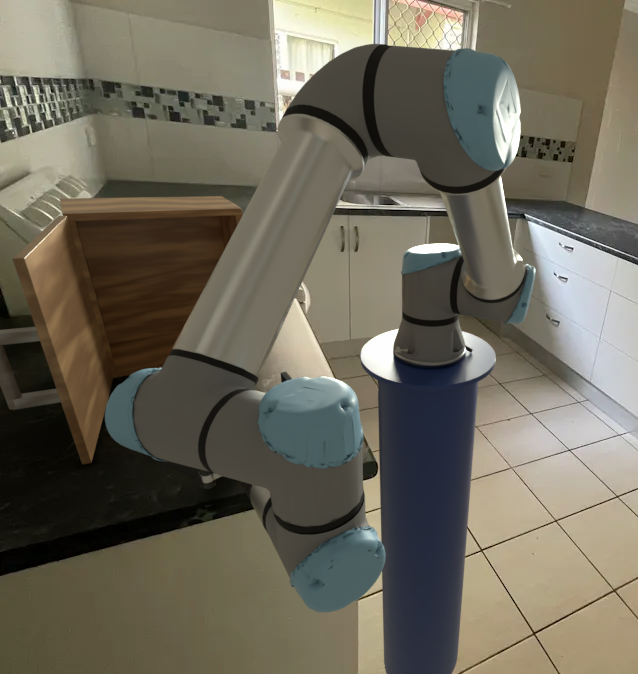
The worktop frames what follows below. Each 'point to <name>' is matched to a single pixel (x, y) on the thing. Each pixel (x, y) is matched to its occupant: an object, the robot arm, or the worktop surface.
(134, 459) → the worktop surface
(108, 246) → the cabinet
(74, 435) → the cabinet door
